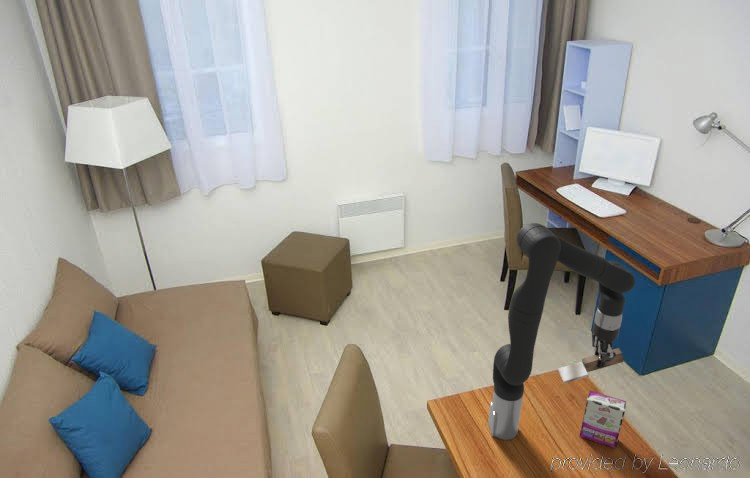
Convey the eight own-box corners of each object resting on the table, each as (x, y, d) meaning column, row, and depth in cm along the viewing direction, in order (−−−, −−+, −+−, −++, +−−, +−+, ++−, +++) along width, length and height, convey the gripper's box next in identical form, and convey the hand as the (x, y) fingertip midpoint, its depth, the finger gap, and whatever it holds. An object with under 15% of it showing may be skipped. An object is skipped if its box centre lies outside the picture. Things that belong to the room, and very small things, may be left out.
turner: (564, 383, 170) (561, 374, 168) (558, 370, 176) (555, 362, 174) (626, 365, 167) (624, 356, 165) (618, 353, 172) (616, 344, 171)
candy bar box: (617, 437, 171) (627, 400, 163) (615, 449, 167) (625, 411, 160) (581, 425, 176) (589, 389, 168) (578, 436, 172) (587, 399, 164)
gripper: (587, 309, 169) (579, 350, 177) (604, 336, 156) (595, 380, 165) (610, 307, 168) (601, 349, 177) (629, 335, 156) (619, 379, 164)
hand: (598, 364), depth 171 cm, fingers closed on turner, 2 cm apart
